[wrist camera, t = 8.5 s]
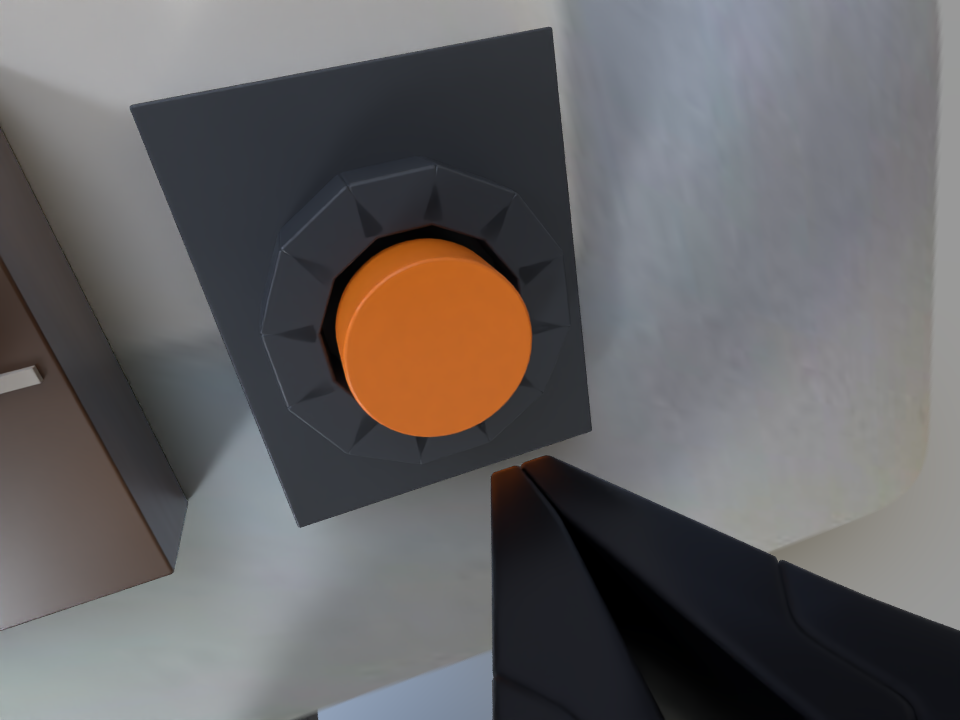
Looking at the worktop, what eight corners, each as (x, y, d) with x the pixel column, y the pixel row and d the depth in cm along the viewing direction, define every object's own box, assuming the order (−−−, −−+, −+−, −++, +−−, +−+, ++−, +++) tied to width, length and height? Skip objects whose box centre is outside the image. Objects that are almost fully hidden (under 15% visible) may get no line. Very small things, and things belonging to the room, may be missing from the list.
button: (517, 374, 15) (543, 406, 14) (361, 422, 14) (371, 462, 13) (492, 218, 13) (519, 235, 12) (312, 263, 13) (317, 287, 11)
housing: (563, 398, 20) (622, 463, 17) (296, 483, 19) (301, 575, 15) (518, 33, 15) (589, 18, 12) (148, 102, 14) (104, 108, 10)
